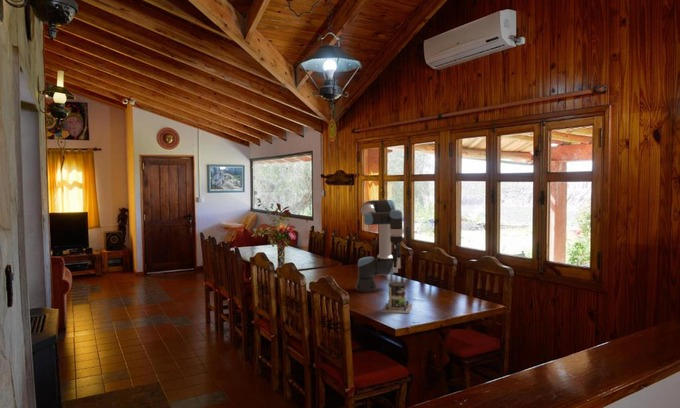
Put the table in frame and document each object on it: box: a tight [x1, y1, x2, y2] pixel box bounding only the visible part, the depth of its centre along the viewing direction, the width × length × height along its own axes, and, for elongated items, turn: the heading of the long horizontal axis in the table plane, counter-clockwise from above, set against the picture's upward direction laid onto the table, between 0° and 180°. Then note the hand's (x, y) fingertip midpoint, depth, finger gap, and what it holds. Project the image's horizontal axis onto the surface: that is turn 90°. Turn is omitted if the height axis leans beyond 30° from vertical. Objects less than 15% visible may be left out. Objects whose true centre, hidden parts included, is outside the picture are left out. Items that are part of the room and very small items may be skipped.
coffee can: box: [387, 281, 407, 309], centre depth 304 cm, size 10×10×14 cm
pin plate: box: [381, 299, 413, 314], centre depth 304 cm, size 16×16×4 cm
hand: (396, 270), depth 303 cm, fingers open, 13 cm apart
